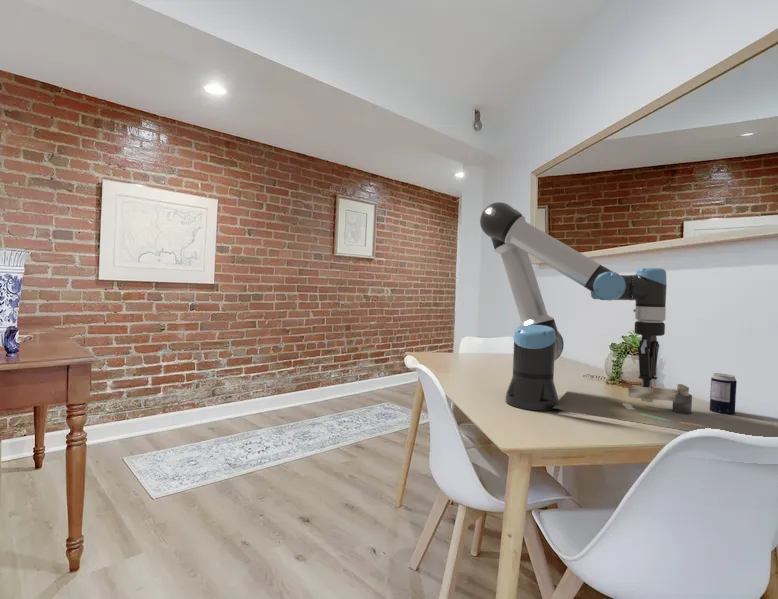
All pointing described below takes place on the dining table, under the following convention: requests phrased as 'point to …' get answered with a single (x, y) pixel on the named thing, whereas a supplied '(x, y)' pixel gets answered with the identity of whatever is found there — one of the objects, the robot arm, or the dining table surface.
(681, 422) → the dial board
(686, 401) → the peg lever
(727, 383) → the beverage can
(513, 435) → the dining table surface
